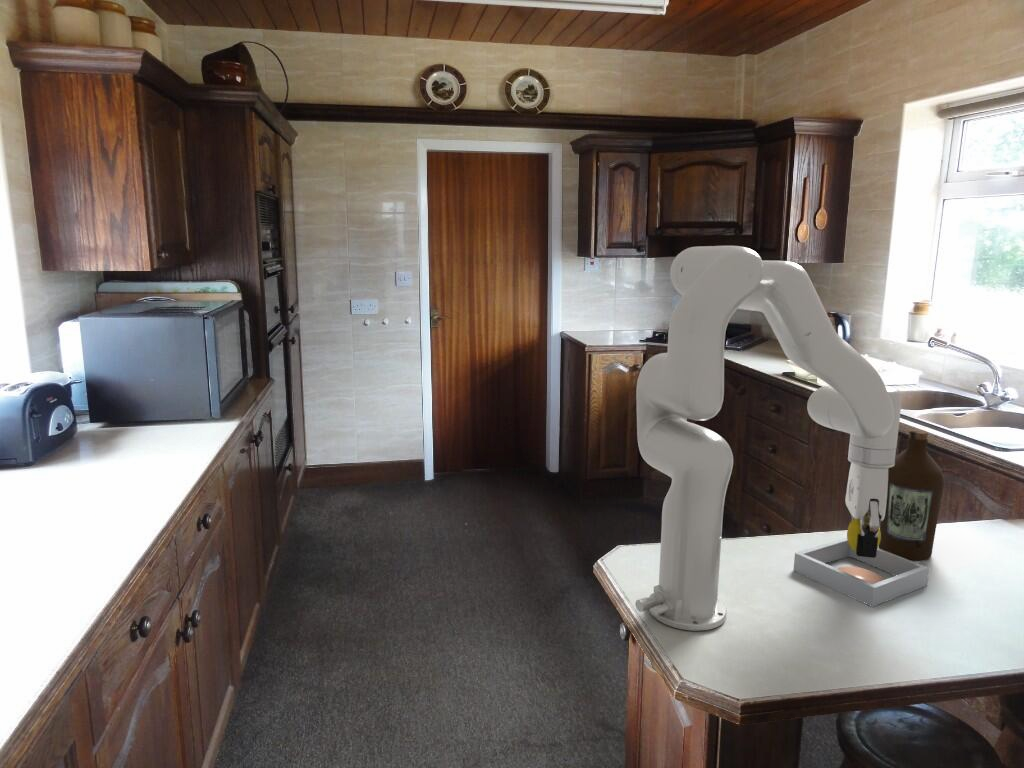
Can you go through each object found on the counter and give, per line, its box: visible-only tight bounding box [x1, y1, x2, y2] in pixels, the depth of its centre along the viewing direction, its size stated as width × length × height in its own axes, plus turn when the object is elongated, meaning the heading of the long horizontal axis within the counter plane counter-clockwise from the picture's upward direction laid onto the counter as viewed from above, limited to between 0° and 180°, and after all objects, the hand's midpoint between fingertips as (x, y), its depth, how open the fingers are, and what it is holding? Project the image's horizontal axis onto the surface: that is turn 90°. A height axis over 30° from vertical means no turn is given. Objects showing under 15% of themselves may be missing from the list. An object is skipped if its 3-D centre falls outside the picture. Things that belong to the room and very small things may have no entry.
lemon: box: [846, 515, 881, 551], centre depth 129 cm, size 6×6×8 cm
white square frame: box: [793, 537, 930, 607], centre depth 130 cm, size 16×16×4 cm
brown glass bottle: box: [878, 429, 945, 562], centre depth 140 cm, size 11×11×25 cm
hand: (862, 548), depth 129 cm, fingers closed on lemon, 5 cm apart
